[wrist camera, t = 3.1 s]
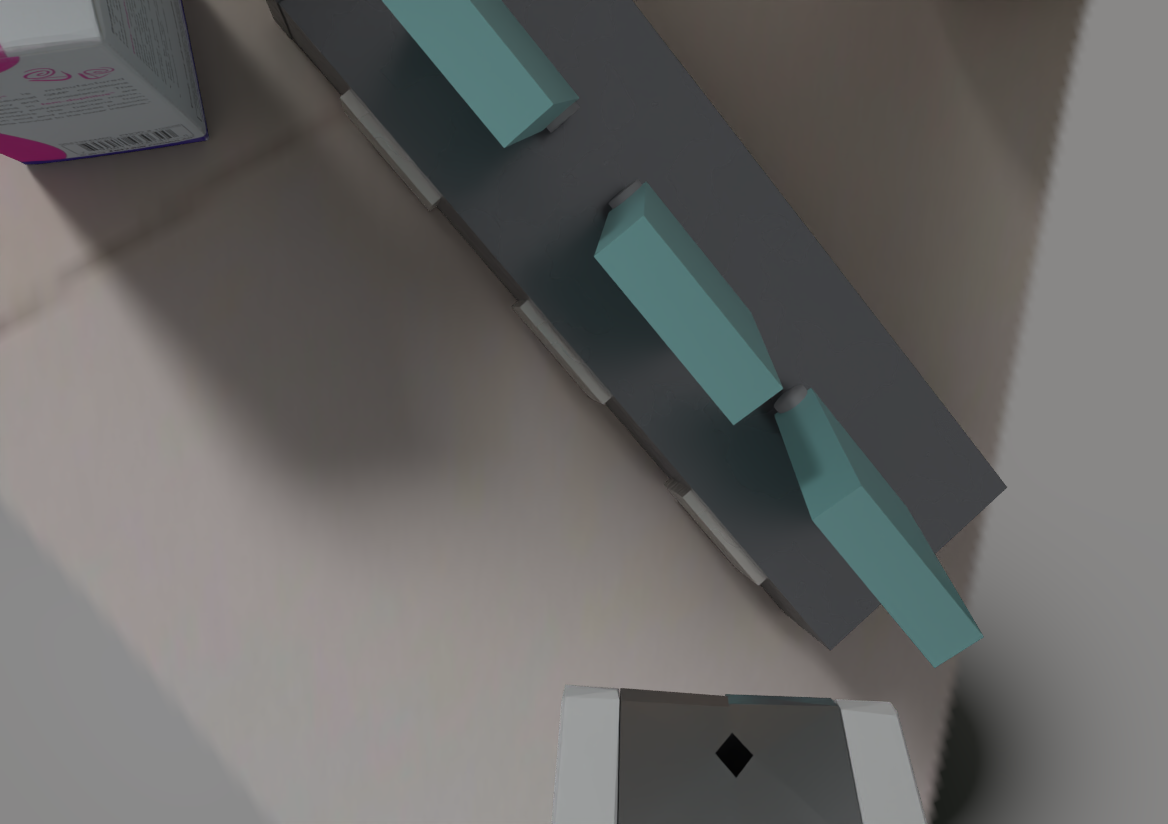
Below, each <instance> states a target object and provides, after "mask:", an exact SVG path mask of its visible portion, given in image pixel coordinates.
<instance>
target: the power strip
mask: <svg viewBox="0 0 1168 824" xmlns="http://www.w3.org/2000/svg"><path fill="white" fill-rule="evenodd" d="M266 2H267V4H268V6H269V9H270V11H271V13H272V15H273V18H274V19H275V21H276V22H277V23H278V24H279V25H280V26H281V28H282V29H283V30H284V31H285V32H286V33H287V35H288V36H289V37H290V38H291V39H294V40H295V42H296V43H297V44H298V45H299V46H300V47H301V49H302V50H303V51H304V52H305V53H306V54H307V56H308V57H309V58H310V59H311V60H312V61H313V63H314V64H315V65H316V66H317V67H318V68H319V70H320V71H321V72H322V73H323V74H324V75H325V77H326V78H327V79H328V80H329V81H330V82H331V84H332V85H333V86H334V87H335V88H336V89H337V91H338V92H339V93H340V94H341V95H342V96H341V97H340V100H341V103H342V107H343V110H344V113H345V114H346V115H347V116H348V117H349V118H350V120H351V121H352V122H353V123H354V124H355V125H356V127H357V128H358V129H359V130H360V131H361V132H362V134H363V135H364V136H365V137H366V138H367V139H368V141H369V142H370V143H371V144H372V145H373V146H374V147H375V149H376V150H377V151H378V152H379V153H380V154H381V156H382V157H383V158H384V159H385V160H386V161H387V163H388V164H389V165H390V166H391V167H392V168H393V170H394V171H395V172H396V173H397V174H398V175H399V177H400V178H401V179H402V180H403V181H404V182H405V184H406V185H407V186H408V187H409V188H410V189H411V191H412V192H413V193H414V194H415V195H416V196H417V198H418V199H419V200H420V201H421V202H422V203H423V205H424V206H425V207H426V208H427V209H428V210H429V212H430V211H431V210H432V209H434V208H435V207H436V206H437V207H438V209H439V210H440V211H441V212H442V213H443V214H444V216H445V217H446V218H447V219H448V220H449V221H450V223H451V224H452V225H453V226H454V227H455V228H456V230H457V231H458V232H459V233H460V234H461V235H462V237H463V238H464V239H465V240H466V241H467V242H468V244H469V245H470V246H471V247H472V248H473V249H474V251H475V252H476V253H477V254H478V255H479V256H480V258H481V259H482V260H483V261H484V262H485V264H486V265H487V266H488V267H489V268H490V269H491V271H492V272H493V273H494V274H495V275H496V276H497V278H498V279H499V280H500V281H501V282H502V283H503V285H504V286H505V287H506V288H507V289H508V290H509V292H510V293H511V294H512V295H513V296H514V297H515V299H516V300H517V302H516V303H515V304H514V305H513V306H512V308H513V309H514V311H515V312H516V313H517V314H518V315H519V316H520V318H521V319H522V320H523V321H524V322H525V323H526V325H527V326H528V327H529V328H530V329H531V330H532V331H533V333H534V334H535V335H536V336H537V337H538V338H539V340H540V341H541V342H542V343H543V344H544V345H545V347H546V348H547V349H548V350H549V351H550V352H551V354H552V355H553V356H554V357H555V358H556V359H557V361H558V362H559V363H560V364H561V365H562V366H563V368H564V369H565V370H566V371H567V372H568V373H569V375H570V376H571V377H572V378H573V379H574V380H575V382H576V383H577V384H578V385H579V386H580V387H581V389H582V390H583V391H584V392H585V393H586V394H587V396H588V397H589V398H591V399H593V400H595V401H597V402H599V403H601V404H604V403H605V404H606V405H607V406H608V407H609V408H610V410H611V411H612V412H613V413H614V414H615V415H616V417H617V418H618V419H619V420H620V421H621V422H622V424H623V425H624V426H625V427H626V428H627V429H628V431H629V432H630V433H631V434H632V435H633V436H634V438H635V439H636V440H637V441H638V442H639V443H640V445H641V446H642V447H643V448H644V449H645V450H646V452H647V453H648V454H649V455H650V456H651V457H652V459H653V460H654V461H655V462H656V463H657V464H658V466H659V467H660V468H661V469H662V470H663V471H664V473H665V474H666V475H667V476H668V477H669V478H670V479H669V480H668V481H667V482H666V483H665V484H664V485H665V486H666V488H667V489H668V490H669V491H670V492H671V493H672V495H673V496H674V497H675V498H676V499H677V500H678V502H679V503H680V504H681V505H682V506H683V507H684V508H685V510H686V511H687V512H688V513H689V514H690V515H691V517H692V518H693V519H694V520H695V521H696V522H697V524H698V525H699V526H700V527H701V528H702V529H703V531H704V532H705V533H706V534H707V535H708V536H709V538H710V539H711V540H712V541H713V542H714V543H715V545H716V546H717V547H718V548H719V549H720V550H721V552H722V553H723V554H724V555H725V556H726V557H727V559H728V560H729V561H730V562H731V563H732V564H733V566H734V567H735V568H736V569H738V570H739V571H740V572H742V573H743V574H744V575H745V576H747V577H748V578H749V579H750V580H752V581H753V582H754V583H755V584H757V585H758V586H759V585H761V586H762V587H763V588H764V589H765V591H766V592H767V593H768V594H769V595H770V596H771V598H772V599H773V600H774V601H775V602H776V603H777V605H778V606H779V607H780V608H781V609H782V610H783V612H784V613H785V614H786V615H787V616H789V617H790V618H791V619H792V620H794V621H795V622H796V623H797V624H798V625H800V626H801V627H802V628H803V629H805V630H806V631H807V632H808V633H810V634H811V635H812V636H813V637H814V638H816V639H817V640H818V641H819V642H821V643H822V644H823V645H824V646H826V647H827V648H828V649H829V650H831V649H833V648H834V647H835V646H836V645H837V644H838V643H839V642H840V641H841V640H842V639H843V638H844V637H846V636H847V635H848V634H849V633H850V632H851V631H852V630H853V629H854V628H855V627H856V626H857V625H859V624H860V623H861V622H862V621H863V620H864V619H865V618H866V617H867V616H868V615H869V614H870V613H872V612H873V611H874V610H875V609H876V608H877V607H878V606H879V605H880V604H881V603H880V602H879V600H878V599H877V598H876V597H875V596H874V594H873V593H872V592H871V591H870V590H869V588H868V587H867V586H866V585H865V584H864V582H863V581H862V580H861V579H860V578H859V576H858V575H857V574H856V573H855V571H854V570H853V569H852V568H851V567H850V565H849V564H848V563H847V562H846V561H845V559H844V558H843V557H842V556H841V555H840V553H839V552H838V551H837V550H836V549H835V547H834V546H833V545H832V544H831V542H830V541H829V540H828V539H827V538H826V536H825V535H824V534H823V533H822V532H821V530H820V529H819V528H818V527H817V526H816V524H815V523H814V522H813V521H812V519H811V516H810V513H809V510H808V508H807V505H806V502H805V499H804V497H803V494H802V491H801V488H800V485H799V483H798V480H797V477H796V474H795V472H794V469H793V466H792V463H791V460H790V458H789V455H788V452H787V449H786V447H785V444H784V441H783V438H782V435H781V433H780V430H779V427H778V424H777V422H776V419H775V416H774V415H775V414H776V413H777V412H778V411H777V410H776V409H775V408H774V404H775V402H776V401H777V400H778V398H779V397H780V396H781V395H783V394H784V393H785V392H786V391H788V390H789V389H791V388H792V387H794V386H797V385H803V386H804V387H805V388H806V390H809V389H810V388H812V389H813V390H814V392H815V393H816V394H817V395H818V397H819V398H820V399H821V400H822V402H823V403H824V404H825V405H826V407H827V408H828V409H829V410H830V412H831V413H832V414H833V415H834V417H835V418H836V419H837V420H838V422H839V423H840V424H841V425H842V427H843V428H844V429H845V430H846V432H847V433H848V434H849V435H850V437H851V438H852V439H853V440H854V442H855V443H856V444H857V445H858V447H859V448H860V449H861V450H862V452H863V453H864V454H865V455H866V457H867V458H868V459H869V460H870V462H871V463H872V464H873V465H874V467H875V468H876V469H877V470H878V472H879V473H880V474H881V475H882V477H883V478H884V479H885V480H886V482H887V483H888V484H889V485H890V487H891V488H892V489H893V490H894V492H895V493H896V494H897V495H898V497H899V498H900V499H901V500H902V502H903V503H904V504H905V505H906V507H907V508H908V510H909V512H910V513H911V515H912V517H913V518H914V520H915V522H916V523H917V525H918V527H919V528H920V530H921V532H922V533H923V535H924V537H925V539H926V540H927V542H928V544H929V545H930V547H931V549H932V550H933V552H934V554H935V553H937V552H938V551H939V550H940V549H941V548H942V547H943V546H944V545H945V544H946V543H947V542H948V541H950V540H951V539H952V538H953V537H954V536H955V535H956V534H957V533H958V532H959V531H960V530H961V529H963V528H964V527H965V526H966V525H967V524H968V523H969V522H970V521H971V520H972V519H973V518H974V517H976V516H977V515H978V514H979V513H980V512H981V511H982V510H983V509H984V508H985V507H986V506H988V505H989V504H990V503H991V502H992V501H993V500H994V499H995V498H996V497H997V496H998V495H999V494H1000V493H1002V492H1003V491H1004V490H1005V489H1006V488H1007V487H1006V485H1005V484H1004V483H1003V481H1002V480H1001V479H1000V477H999V476H998V475H997V474H996V472H995V471H994V470H993V468H992V467H991V466H990V464H989V463H988V462H987V461H986V459H985V458H984V457H983V455H982V454H981V453H980V451H979V450H978V449H977V448H976V446H975V445H974V444H973V442H972V441H971V440H970V438H969V437H968V436H967V435H966V433H965V432H964V431H963V429H962V428H961V427H960V425H959V424H958V423H957V422H956V420H955V419H954V418H953V416H952V415H951V414H950V412H949V411H948V410H947V409H946V407H945V406H944V405H943V403H942V402H941V401H940V399H939V398H938V397H937V396H936V394H935V393H934V392H933V390H932V389H931V388H930V387H929V385H928V384H927V383H926V381H925V380H924V379H923V377H922V376H921V375H920V374H919V372H918V371H917V370H916V368H915V367H914V366H913V364H912V363H911V362H910V361H909V359H908V358H907V357H906V355H905V354H904V353H903V351H902V350H901V349H900V348H899V346H898V345H897V344H896V342H895V341H894V340H893V338H892V337H891V336H890V335H889V333H888V332H887V331H886V329H885V328H884V327H883V325H882V324H881V323H880V322H879V320H878V319H877V318H876V316H875V315H874V314H873V312H872V311H871V310H870V309H869V307H868V306H867V305H866V303H865V302H864V301H863V299H862V298H861V297H860V296H859V294H858V293H857V292H856V290H855V289H854V288H853V287H852V285H851V284H850V283H849V281H848V280H847V279H846V277H845V276H844V275H843V274H842V272H841V271H840V270H839V268H838V267H837V266H836V264H835V263H834V262H833V261H832V259H831V258H830V257H829V255H828V254H827V253H826V251H825V250H824V249H823V248H822V246H821V245H820V244H819V242H818V241H817V240H816V238H815V237H814V236H813V235H812V233H811V232H810V231H809V229H808V228H807V227H806V225H805V224H804V223H803V222H802V220H801V219H800V218H799V216H798V215H797V214H796V212H795V211H794V210H793V209H792V207H791V206H790V205H789V203H788V202H787V201H786V199H785V198H784V197H783V196H782V194H781V193H780V192H779V190H778V189H777V188H776V187H775V185H774V184H773V183H772V181H771V180H770V179H769V177H768V176H767V175H766V174H765V172H764V171H763V170H762V168H761V167H760V166H759V164H758V163H757V162H756V161H755V159H754V158H753V157H752V155H751V154H750V153H749V151H748V150H747V149H746V148H745V146H744V145H743V144H742V142H741V141H740V140H739V138H738V137H737V136H736V135H735V133H734V132H733V131H732V129H731V128H730V127H729V125H728V124H727V123H726V122H725V120H724V119H723V118H722V116H721V115H720V114H719V112H718V111H717V110H716V109H715V107H714V106H713V105H712V103H711V102H710V101H709V99H708V98H707V97H706V96H705V94H704V93H703V92H702V90H701V89H700V88H699V87H698V85H697V84H696V83H695V81H694V80H693V79H692V77H691V76H690V75H689V74H688V72H687V71H686V70H685V68H684V67H683V66H682V64H681V63H680V62H679V61H678V59H677V58H676V57H675V55H674V54H673V53H672V51H671V50H670V49H669V48H668V46H667V45H666V44H665V42H664V41H663V40H662V38H661V37H660V36H659V35H658V33H657V32H656V31H655V29H654V28H653V27H652V25H651V24H650V23H649V22H648V20H647V19H646V18H645V16H644V15H643V14H642V12H641V11H640V10H639V9H638V7H637V6H636V5H635V3H634V2H633V1H632V0H502V2H503V3H504V4H505V5H506V7H507V8H508V9H509V10H510V12H511V13H512V14H513V15H514V17H515V18H516V19H517V20H518V22H519V23H520V24H521V25H522V27H523V28H524V29H525V30H526V32H527V33H528V34H529V35H530V37H531V38H532V39H533V40H534V42H535V43H536V44H537V45H538V47H539V48H540V49H541V50H542V52H543V53H544V54H545V55H546V57H547V58H548V59H549V60H550V62H551V63H552V64H553V65H554V67H555V68H556V69H557V70H558V72H559V73H560V74H561V75H562V77H563V78H564V79H565V80H566V82H567V83H568V84H569V85H570V87H571V88H572V89H573V90H574V92H575V93H576V94H577V95H578V97H579V99H578V100H577V101H576V103H577V104H578V105H579V106H580V108H579V109H578V110H577V111H576V112H575V113H574V114H572V115H571V116H570V117H569V118H568V119H567V120H566V121H565V122H563V123H562V124H561V125H560V126H559V127H558V128H556V129H555V130H554V131H553V132H551V133H550V131H549V130H548V129H547V128H545V129H544V130H543V131H541V132H539V133H536V134H534V135H532V136H530V137H527V138H525V139H523V140H521V141H519V142H516V143H514V144H512V145H510V146H508V147H505V148H504V147H503V146H502V145H501V144H500V143H499V141H498V140H497V139H496V138H495V137H494V135H493V134H492V133H491V132H490V131H489V129H488V128H487V127H486V126H485V125H484V123H483V122H482V121H481V120H480V118H479V117H478V116H477V115H476V114H475V112H474V111H473V110H472V109H471V108H470V106H469V105H468V104H467V103H466V102H465V100H464V99H463V98H462V97H461V96H460V94H459V93H458V92H457V91H456V90H455V88H454V87H453V86H452V85H451V83H450V82H449V81H448V80H447V79H446V77H445V76H444V75H443V74H442V73H441V71H440V70H439V69H438V68H437V67H436V65H435V64H434V63H433V62H432V61H431V59H430V58H429V57H428V56H427V54H426V53H425V52H424V51H423V50H422V48H421V47H420V46H419V45H418V44H417V42H416V41H415V40H414V39H413V38H412V36H411V35H410V34H409V33H408V32H407V30H406V29H405V28H404V27H403V25H402V24H401V23H400V22H399V21H398V19H397V18H396V17H395V16H394V15H393V13H392V12H391V11H390V10H389V9H388V7H387V6H386V5H385V4H384V3H383V1H382V0H266ZM637 179H638V180H639V181H640V182H641V184H643V183H645V182H647V183H648V184H649V185H650V187H651V188H652V189H653V190H654V192H655V193H656V194H657V195H658V197H659V198H660V199H661V200H662V202H663V203H664V204H665V205H666V207H667V208H668V209H669V210H670V212H671V213H672V214H673V215H674V217H675V218H676V219H677V220H678V222H679V223H680V224H681V225H682V227H683V228H684V229H685V230H686V232H687V233H688V234H689V235H690V237H691V238H692V239H693V240H694V242H695V243H696V244H697V245H698V247H699V248H700V249H701V250H702V252H703V253H704V254H705V255H706V257H707V258H708V259H709V260H710V262H711V263H712V264H713V265H714V267H715V268H716V269H717V270H718V272H719V273H720V274H721V275H722V277H723V278H724V279H725V280H726V282H727V283H728V284H729V285H730V287H731V288H732V289H733V290H734V292H735V293H736V294H737V295H738V297H739V298H740V299H741V300H742V302H743V303H744V304H745V305H746V307H747V308H748V309H749V310H750V312H751V313H752V315H753V318H754V320H755V322H756V325H757V327H758V330H759V332H760V334H761V337H762V339H763V342H764V344H765V346H766V349H767V351H768V353H769V356H770V358H771V361H772V363H773V365H774V368H775V370H776V372H777V375H778V377H779V380H780V382H781V384H782V387H783V389H782V390H781V391H779V392H778V393H777V394H775V395H774V396H773V397H771V398H770V399H769V400H767V401H766V402H764V403H763V404H762V405H760V406H759V407H758V408H756V409H755V410H754V411H752V412H751V413H750V414H748V415H747V416H746V417H744V418H743V419H742V420H740V421H739V422H738V423H736V424H735V425H733V424H732V423H731V422H730V420H729V419H728V418H727V417H726V416H725V414H724V413H723V412H722V411H721V410H720V408H719V407H718V406H717V405H716V404H715V402H714V401H713V400H712V399H711V398H710V396H709V395H708V394H707V393H706V391H705V390H704V389H703V388H702V387H701V385H700V384H699V383H698V382H697V381H696V379H695V378H694V377H693V376H692V375H691V373H690V372H689V371H688V370H687V369H686V367H685V366H684V365H683V364H682V362H681V361H680V360H679V359H678V358H677V356H676V355H675V354H674V353H673V352H672V350H671V349H670V348H669V347H668V346H667V344H666V343H665V342H664V341H663V340H662V338H661V337H660V336H659V335H658V334H657V332H656V331H655V330H654V329H653V327H652V326H651V325H650V324H649V323H648V321H647V320H646V319H645V318H644V317H643V315H642V314H641V313H640V312H639V311H638V309H637V308H636V307H635V306H634V305H633V303H632V302H631V301H630V300H629V298H628V297H627V296H626V295H625V294H624V292H623V291H622V290H621V289H620V288H619V286H618V285H617V284H616V283H615V282H614V280H613V279H612V278H611V277H610V276H609V274H608V273H607V272H606V271H605V269H604V268H603V267H602V266H601V265H600V263H599V262H598V261H597V260H596V259H595V257H594V255H595V252H596V249H597V246H598V243H599V240H600V237H601V234H602V231H603V228H604V225H605V222H606V219H607V216H608V213H609V212H610V211H611V210H612V207H611V206H610V205H609V202H610V201H611V200H612V199H613V198H614V197H615V196H617V195H618V194H619V193H620V192H621V191H622V190H624V189H625V188H626V187H627V186H628V185H630V184H631V183H632V182H634V181H635V180H637Z"/></svg>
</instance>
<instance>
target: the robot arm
mask: <svg viewBox="0 0 1168 824" xmlns="http://www.w3.org/2000/svg"><path fill="white" fill-rule="evenodd" d="M552 824H927V821H926V817H925V813H924V810H923V806H922V802H921V798H920V794H919V791H918V787H917V783H916V779H915V776H914V772H913V768H912V764H911V761H910V757H909V753H908V749H907V745H906V742H905V738H904V734H903V730H902V727H901V723H900V719H899V715H898V711H897V710H896V709H895V708H894V706H893V705H892V704H891V702H882V701H861V700H841V699H835V700H834V701H833V700H832V699H831V698H812V697H785V696H758V695H731V694H725V696H719V695H706V694H692V693H679V692H666V691H653V690H639V689H626V688H621V689H620V698H619V688H604V687H589V686H574V685H565V689H564V693H563V697H562V702H561V715H560V727H559V739H558V751H557V763H556V775H555V788H554V800H553V812H552Z"/></svg>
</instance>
